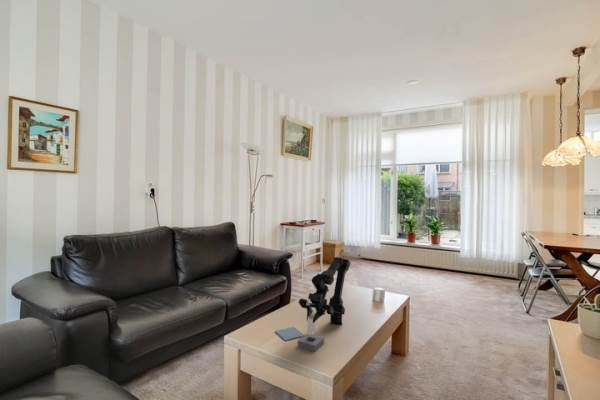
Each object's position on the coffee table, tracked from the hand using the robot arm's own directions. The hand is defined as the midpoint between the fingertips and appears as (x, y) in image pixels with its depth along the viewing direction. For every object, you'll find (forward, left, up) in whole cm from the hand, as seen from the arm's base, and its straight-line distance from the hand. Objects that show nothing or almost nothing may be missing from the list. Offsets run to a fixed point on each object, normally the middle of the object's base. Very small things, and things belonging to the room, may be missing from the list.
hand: (310, 321), depth 153 cm
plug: (-1, -1, -7) cm, 7 cm away
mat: (+11, -12, -13) cm, 21 cm away
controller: (-6, -45, -13) cm, 47 cm away
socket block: (-1, -1, -13) cm, 13 cm away
